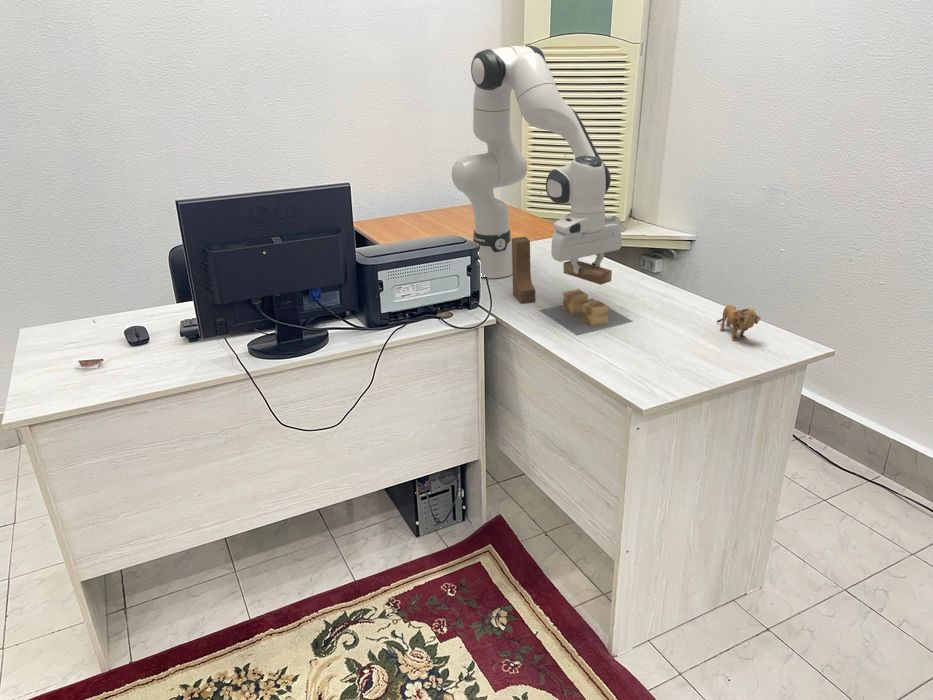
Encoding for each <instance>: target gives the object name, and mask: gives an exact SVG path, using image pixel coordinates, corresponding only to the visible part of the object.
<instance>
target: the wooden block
mask: <svg viewBox="0 0 933 700" xmlns="http://www.w3.org/2000/svg"><path fill="white" fill-rule="evenodd" d="M511 243H512V274H511V275H512V295H513V296H514V297H515V299H516V300H517V302H519V304H521V305H523V304H525V305H526V304H531V303H532V304H533V303H535V302H536V288H535V286H534V285H533V281H532V276H531V275H532V274H531V241H530V239H528V238H527V237H526V236H521V237H520V236H519V237H512V238H511Z"/></svg>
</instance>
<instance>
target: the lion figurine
mask: <svg viewBox="0 0 933 700" xmlns="http://www.w3.org/2000/svg"><path fill="white" fill-rule="evenodd" d="M760 321H761V317H760V315H757V313H755V309H753V308H744V309H738V310H737V307H735V306H733V304H732V305H731V304H729V305H726V306H725V308H724V309H723V312H722V318H720V319H718V320H716V322H717V323H721V326H720V329H719V331H721V332H725V330H726V328H725V325H726V327H730V326H732V335H731V341H732V342H737V341H738V335H737V334H738V331H740V332H739V338H740V339H742V340H745V339H746V335H744V333H745V332H746V331H748V330H749V329H751V328H753V327H754V325H757V324H758V323H759V322H760Z"/></svg>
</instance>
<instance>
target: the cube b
mask: <svg viewBox="0 0 933 700" xmlns="http://www.w3.org/2000/svg"><path fill="white" fill-rule="evenodd" d="M609 308H610V307H609V305H608V304H606V303H604V302H602V301H601V300H598V299H597V300H596V301H592V302H588V303H584V304H583V308H582V321H584V322H585V323H587V324H588V325H590V326H592V327H594V326H598V325H602V324H606V323H608V310H609Z"/></svg>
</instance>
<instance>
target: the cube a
mask: <svg viewBox="0 0 933 700" xmlns="http://www.w3.org/2000/svg"><path fill="white" fill-rule="evenodd" d="M562 296H563V297H562V301H563V302H562V305H563V309H564V310H566V311H568V312H569V313H571V314H572V315H573V314H577V313H581V312H582V308H583V304H584V303H588V299H589V294H588V293H586V292H585V291H582V290H581V289H579V288H578V289H573V290H572V289H571V290H568V291H564V292H563V293H562Z"/></svg>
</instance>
